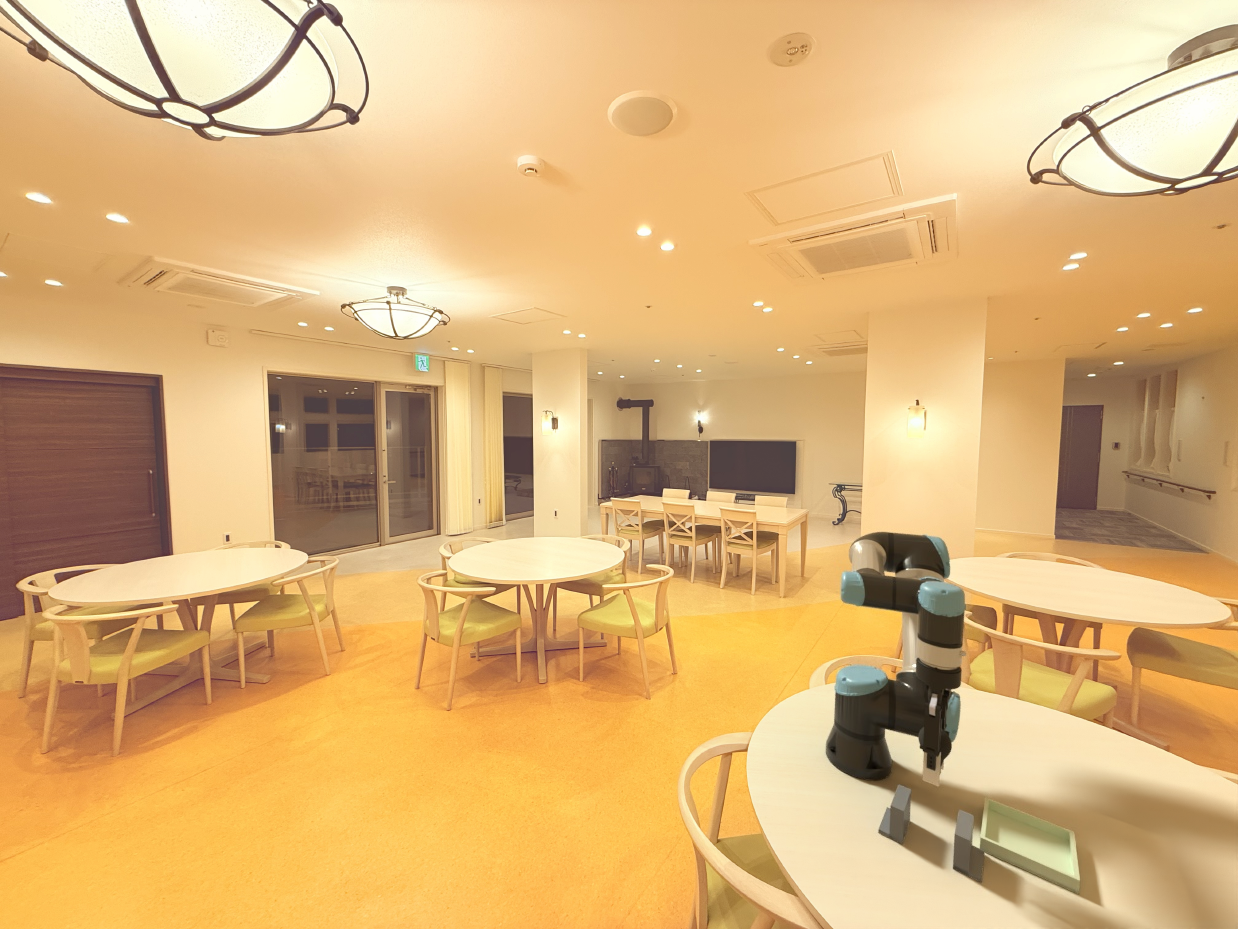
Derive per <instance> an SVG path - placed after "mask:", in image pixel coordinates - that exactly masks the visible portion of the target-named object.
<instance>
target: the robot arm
mask: <svg viewBox="0 0 1238 929" xmlns="http://www.w3.org/2000/svg"><path fill="white" fill-rule="evenodd" d="M848 559H849V562H850V563H851V568H850V569H851V570H845V571H842V573H841V579H840V600H841V601H842V602H843V603H844V604H848V605H853V606H856V607H862V608H863V607H865V608H871V609H879V610H883V611H884V610H886V611H893V612H899V613H901V626H902V628H901V629H902V630H901V632H902V636H901V637H902V668H901V669H900V670H899V671H898V672H896V673H895V679H890V678H889V677H888V675H887V674H886V671H884V670H882V669H881V668H877V667H876V666H872V665H866V664H851V665H848V666H844V667H841V669H839V670H838V671H837V672H836V676H835V684H834V691H835V694H834V716H833V720H834V721H833V725H832V727H831V729H830V732H829V734H828V736H827V739H826V743H825V755H826V758H827V759H828V760H829V762H830V763H831V764H832V765H833V766H834V767H836V768H837V769H839V771H842V772H844V773H845V774H847V775H849V776H852V777H855V778H858V779H861V780H867V781H880V780H884V779H886V778H888V777H889V776H890V775H891V774H892V770H893V769H892V768H893V759H892V756H891V752H890V750H889V749H890V748H889V746H888V743H887V739H886V730H888V731H893V732H896V733H899V734H903V735H907V736H912V737H916V738H918V736H919V732H920V730H921V729H922V728H923V727H924V738H923V745H920V744H919V749H920V750H922V749H923V750H922V752H923V760H922V762H923V763H922V765H923V766H922V781H924V782H926V783H929V784H931V785H933V786H936V787H940V778H941V774H940V761H941V752H940V741H941V729H943V730H944V731H945V732H946V733H947V734H948V736H949V738H950V739H951V743H953V742H954V741H955V740H956V738H957V734H958V731H959V726H960V719H961V709H962V708H961V706H962V704H961V695H960V694H959V692H958V693H957V692H955V691H953V690H957V689H958V688H960V687H961V685H962V672H963V671H962V668H961V666H962V661H963V657H966V656H967V652H966V651H965V650H962V649H963V644H964V642H963V641H964V638H963V637H964V627H965V625H964V624H965V611H966V609H967V605H966V593H965V591H964V590H963V588H961V587H960V586H957V585H956V584H953V583H948V582H945V580H947V579H949V577H950V576H951V575H950V574H951V563H950V562H951V561H950V559H951V558H950V553H949V550H948V546H947V543H946V542H945V540H943V539H942V538H941V537H939V536H934V535H933V536H932V535H928V534H912V533H910V534H909V533H903V532H902V533H900V532H890V531H889V532H888V531H877V532H870V533H868V534H865V535H862V536H860V537H858V538H856V539H855V540H854V541H853V542H852V543H851V545H850V546H849V550H848ZM885 572H886V573H894V576H891V575H885V574H886V573H885ZM944 764H945V760H944V761H943V764H942V766H941V771H942V770H944Z"/></svg>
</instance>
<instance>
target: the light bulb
mask: <svg viewBox="0 0 1238 929" xmlns="http://www.w3.org/2000/svg"><path fill="white" fill-rule="evenodd" d="M917 738H918V743H919V746H920V745H923V738H924V727H923V728H922V729H921V730H920V732H919V736H918V737H917ZM952 743H953V742H952ZM952 743H951V739H950V738H949V736H948V734H947V733H946V732H945V731H944V730H943V729H941V741H940V752H941V761H940V775H941V773H942V769H941V766H942V764H943V761H944V762H945V759H946V758H947V757H948V756H949V755H950V754H951V752H952V746H953V744H952ZM921 750H922V751H923V749H921Z"/></svg>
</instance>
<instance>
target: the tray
mask: <svg viewBox="0 0 1238 929" xmlns="http://www.w3.org/2000/svg"><path fill="white" fill-rule="evenodd" d="M981 822H982V823H981V829H980V839H979V840H980V841H979V842H980V843H979V848H980V849H982V850H984V851H985V853H986V854H988V855H991V856H992V857H995V858H997V859H999V860H1001V861H1003V862H1006V863H1008V864H1010V865H1013V866H1015V867H1017V868H1020V869H1021V870H1024V871H1026V872H1028V873H1031V874H1033V875H1035V876H1037V877H1039V878H1042V879H1044V880H1046V881H1048V882H1050V883H1052V884H1054V885H1057V886H1059V887H1062V888H1064V889H1066V890H1068V891H1070V892H1072V893H1075V894H1077V895H1080V888H1081V877H1080V869H1079V861H1078V853H1077V851H1078V850H1077V845H1076V844H1077V843H1076V836H1075V831H1073V830H1071V829H1068V828H1066V827H1063V826H1060V825H1059V824H1055V823H1053V822H1051V821H1048V820H1045V819H1042V818H1040V817H1038V816H1035V815H1032V814H1030V813H1027V812H1024V811H1022V810H1020V809H1017V808H1015V807H1013V806H1010V805H1006V804H1005V803H1002V802H999V801H996V800H995V799H992V798H988V797H986V796H985V797H984V804H983V812H982V820H981Z"/></svg>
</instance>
